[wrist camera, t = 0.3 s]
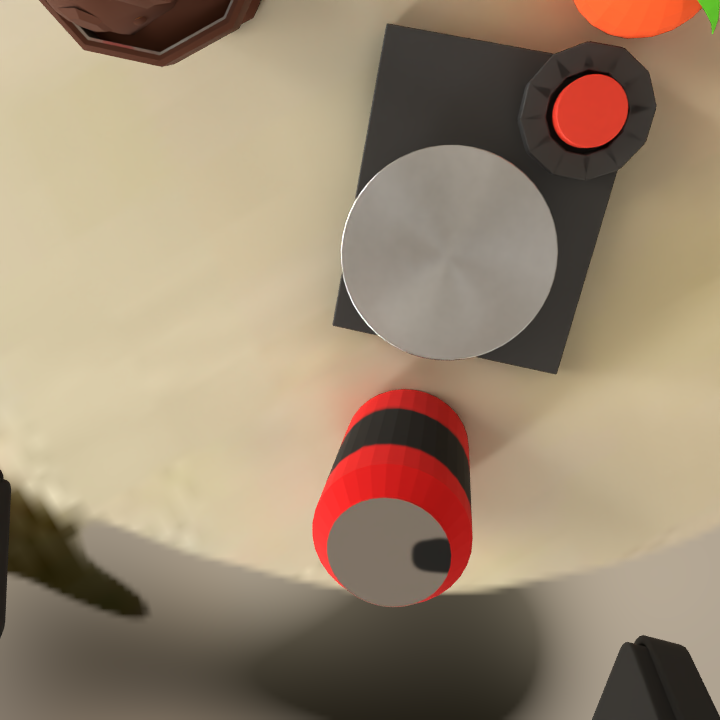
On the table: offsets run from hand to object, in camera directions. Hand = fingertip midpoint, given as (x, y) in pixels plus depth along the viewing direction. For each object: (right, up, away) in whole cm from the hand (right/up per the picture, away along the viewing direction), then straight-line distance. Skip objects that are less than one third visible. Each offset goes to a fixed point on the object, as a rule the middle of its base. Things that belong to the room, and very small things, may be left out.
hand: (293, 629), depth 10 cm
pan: (+6, +9, +25) cm, 27 cm away
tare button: (+12, +16, +22) cm, 30 cm away
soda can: (+4, -1, +32) cm, 32 cm away
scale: (+7, +12, +27) cm, 30 cm away
